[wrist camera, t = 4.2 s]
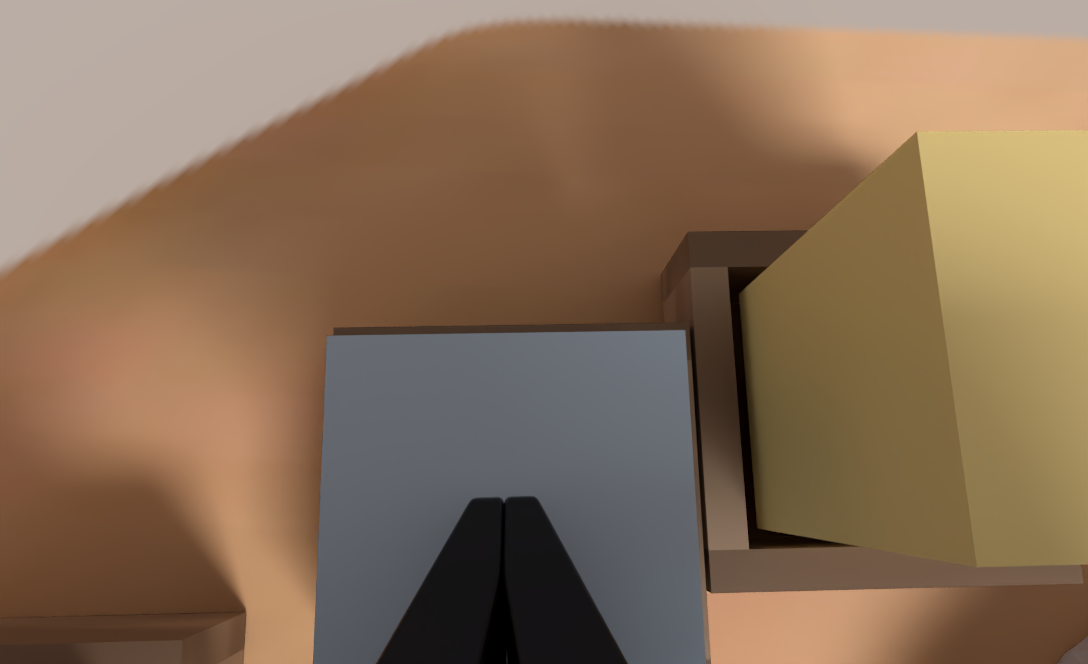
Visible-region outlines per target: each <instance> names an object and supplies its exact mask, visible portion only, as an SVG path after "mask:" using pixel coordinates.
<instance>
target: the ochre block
mask: <svg viewBox="0 0 1088 664" xmlns="http://www.w3.org/2000/svg"><path fill="white" fill-rule="evenodd" d="M739 303H740V315H741V328H742V341H743V353H744V366H745V379H746V391H747V404H748V417H749V429H750V442H751V455H752V467H753V480H754V492H755V505H756V518H757V528H758V529H763V530H769V531H775V532H780V533H786V534H792V535H797V536H803V537H809V538H814V539H820V540H826V541H831V542H837V543H843V544H848V545H854V546H860V547H865V548H871V549H877V550H882V551H888V552H894V553H899V554H905V555H911V556H916V557H922V558H928V559H933V560H939V561H945V562H950V563H956V564H962V565H967V566H973V567H1005V566H1046V565H1086V564H1088V130H1059V131H935V132H916V133H915V134H914V135H913V136H911V137H910V138H909V139H908V140H907V141H906V142H905V143H904V144H903V145H902V146H901V147H899V148H898V149H897V150H896V151H895V152H894V153H893V154H892V155H891V156H890V157H888V158H887V159H886V160H885V161H884V162H883V163H882V164H881V165H880V166H879V167H877V168H876V169H875V170H874V171H873V172H872V173H871V174H870V175H869V176H868V177H867V178H865V179H864V180H863V181H862V182H861V183H860V184H859V185H858V186H857V187H856V188H854V189H853V190H852V191H851V192H850V193H849V194H848V195H847V196H846V197H845V198H843V199H842V200H841V201H840V202H839V203H838V204H837V205H836V206H835V207H834V208H833V209H831V210H830V211H829V212H828V213H827V214H826V215H825V216H824V217H823V218H822V219H820V220H819V221H818V222H817V223H816V224H815V225H814V226H813V227H812V228H811V229H809V230H808V231H807V232H806V233H805V234H804V235H803V236H802V237H801V238H800V239H799V240H797V241H796V242H795V243H794V244H793V245H792V246H791V247H790V248H789V249H788V250H786V251H785V252H784V253H783V254H782V255H781V256H780V257H779V258H778V259H777V260H776V261H774V262H773V263H772V264H771V265H770V266H769V267H768V268H767V269H766V270H765V271H763V272H762V273H761V274H760V275H759V276H758V277H757V278H756V279H755V280H754V281H752V282H751V283H750V284H749V285H748V286H747V287H746V288H745V289H744V290H743V291H742V292H740V293H739Z"/></svg>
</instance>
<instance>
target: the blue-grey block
mask: <svg viewBox="0 0 1088 664" xmlns="http://www.w3.org/2000/svg"><path fill="white" fill-rule="evenodd" d="M511 496H534V497H536V498H537V499H538V500H539V501H540V503H541V505H542V507H543V509H544V510H545V512H546V514H547V516H548V518H549V520H550V521H551V523H552V525H553V527H554V529H555V531H556V532H557V534H558V536H559V538H560V540H561V542H562V543H563V545H564V547H565V549H566V551H567V553H568V554H569V556H570V558H571V560H572V562H573V564H574V565H575V567H576V569H577V571H578V573H579V575H580V576H581V578H582V580H583V582H584V584H585V586H586V587H587V589H588V591H589V593H590V595H591V597H592V598H593V600H594V602H595V604H596V606H597V608H598V609H599V611H600V613H601V615H602V617H603V619H604V620H605V622H606V624H607V626H608V628H609V630H610V631H611V633H612V635H613V637H614V639H615V641H616V642H617V644H618V646H619V648H620V650H621V652H622V653H623V655H624V657H625V659H626V661H627V663H628V664H706V654H705V638H704V622H703V606H702V590H701V574H700V558H699V542H698V526H697V511H696V495H695V479H694V463H693V447H692V431H691V415H690V399H689V383H688V367H687V351H686V335H685V330H663V331H599V332H535V333H470V334H406V335H341V336H327V344H326V368H325V392H324V416H323V440H322V463H321V487H320V511H319V535H318V559H317V582H316V606H315V630H314V654H313V664H376V662H377V660H378V658H379V657H380V655H381V653H382V652H383V650H384V648H385V646H386V645H387V643H388V641H389V639H390V638H391V636H392V634H393V632H394V631H395V629H396V627H397V626H398V624H399V622H400V620H401V619H402V617H403V615H404V613H405V612H406V610H407V608H408V607H409V605H410V603H411V601H412V600H413V598H414V596H415V594H416V593H417V591H418V589H419V588H420V586H421V584H422V582H423V581H424V579H425V577H426V575H427V574H428V572H429V570H430V569H431V567H432V565H433V563H434V562H435V560H436V558H437V556H438V555H439V553H440V551H441V550H442V548H443V546H444V544H445V543H446V541H447V539H448V537H449V536H450V534H451V532H452V530H453V529H454V527H455V525H456V524H457V522H458V520H459V518H460V517H461V515H462V513H463V511H464V510H465V508H466V506H467V505H468V503H469V502H470V500H472V499H473V498H478V497H500V498H502V499H503V501H504V502H505V499H506V498H507V497H511ZM507 664H508V663H507Z"/></svg>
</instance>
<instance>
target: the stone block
mask: <svg viewBox="0 0 1088 664" xmlns="http://www.w3.org/2000/svg"><path fill="white" fill-rule="evenodd" d="M1056 664H1088V636H1087V637H1085V638H1084V639H1083V640H1082V641H1081V642H1080V643H1078V644H1077V645H1076V646H1075V647H1073V648H1072V649H1070V650H1069V651H1067V652H1066V653H1064V655H1063V656H1062V657H1061V659H1060V660H1059V661H1058V662H1057V663H1056Z"/></svg>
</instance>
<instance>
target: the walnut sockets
mask: <svg viewBox="0 0 1088 664" xmlns="http://www.w3.org/2000/svg"><path fill="white" fill-rule="evenodd" d="M807 231H808V230H805V231H720V232H688V233H687V234H686V236H685V237H684V239H683V241H682V242H681V244H680V245H679V247H678V248H677V250H676V252H675V253H674V255H673V256H672V258H671V260H670V261H669V263H668V264H667V266H666V267H665V269H664V271H663V272H662V274H661V281H662V298H663V316H664V323H618V324H553V325H487V326H421V327H356V328H334V336H341V335H406V334H470V333H535V332H599V331H663V330H685V335H686V351H687V367H688V383H689V399H690V415H691V431H692V447H693V463H694V479H695V495H696V511H697V526H698V542H699V558H700V574H701V590H702V606H703V622H704V638H705V654H706V664H711V657H710V641H709V626H708V610H707V594H706V590H707V591H709V592H710V593H738V592H777V591H816V590H855V589H895V588H934V587H973V586H1012V585H1052V584H1084V579H1083V573H1082V567H1081V565H1046V566H1005V567H973V566H967V565H962V564H956V563H950V562H945V561H939V560H933V559H928V558H922V557H916V556H911V555H905V554H899V553H894V552H888V551H882V550H877V549H871V548H865V547H860V546H854V545H848V544H843V543H837V542H831V541H826V540H820V539H814V538H809V537H803V536H789V537H748V529H747V516H746V503H745V489H744V476H743V463H742V450H741V437H740V424H739V411H738V398H737V385H736V372H735V359H734V345H733V332H732V319H731V306H730V303H739V293H740V292H742V291H743V290H744V289H745V288H746V287H747V286H748V285H749V284H750V283H751V282H752V281H754V280H755V279H756V278H757V277H758V276H759V275H760V274H761V273H762V272H763V271H765V270H766V269H767V268H768V267H769V266H770V265H771V264H772V263H773V262H774V261H776V260H777V259H778V258H779V257H780V256H781V255H782V254H783V253H784V252H785V251H786V250H788V249H789V248H790V247H791V246H792V245H793V244H794V243H795V242H796V241H797V240H799V239H800V238H801V237H802V236H803V235H804V234H805V233H806V232H807ZM245 626H246V612H223V613H184V614H145V615H106V616H68V617H29V618H0V664H243V659H244V642H245Z"/></svg>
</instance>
